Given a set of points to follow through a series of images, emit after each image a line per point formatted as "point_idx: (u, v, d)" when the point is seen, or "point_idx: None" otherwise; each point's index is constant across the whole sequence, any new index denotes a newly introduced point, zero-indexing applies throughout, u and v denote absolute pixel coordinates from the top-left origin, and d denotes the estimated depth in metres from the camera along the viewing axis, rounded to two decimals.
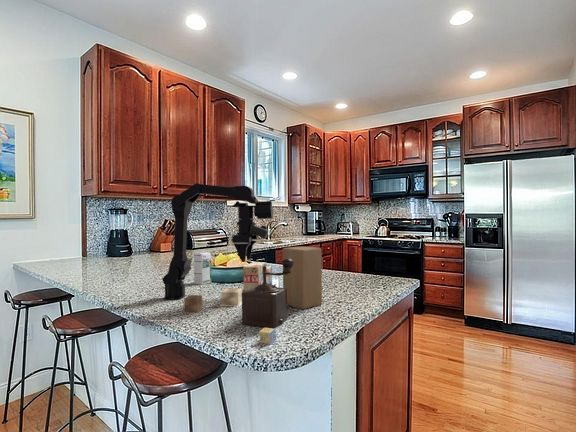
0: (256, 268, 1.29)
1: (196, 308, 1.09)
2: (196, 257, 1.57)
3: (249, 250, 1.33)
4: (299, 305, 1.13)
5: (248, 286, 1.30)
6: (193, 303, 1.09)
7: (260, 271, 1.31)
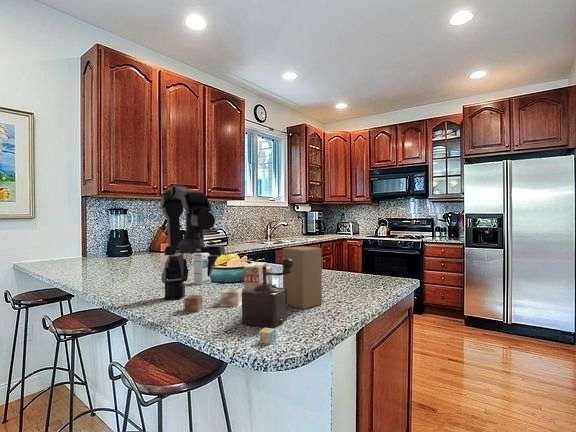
0: (257, 268, 1.29)
1: (196, 308, 1.09)
2: (196, 257, 1.57)
3: None
4: (299, 305, 1.13)
5: (249, 286, 1.30)
6: (193, 303, 1.09)
7: (260, 271, 1.32)
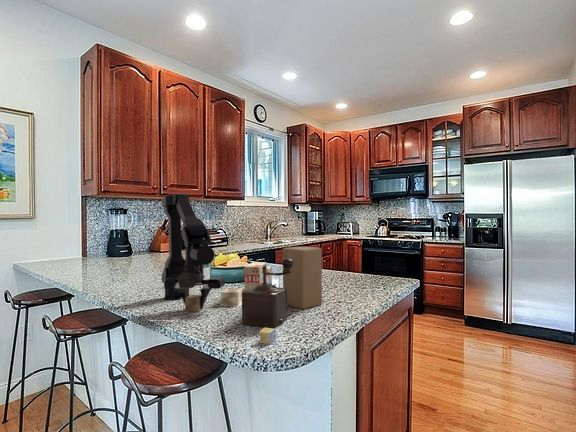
0: (257, 268, 1.29)
1: (197, 308, 1.09)
2: None
3: None
4: (299, 305, 1.13)
5: (249, 285, 1.30)
6: (194, 303, 1.09)
7: (261, 271, 1.32)
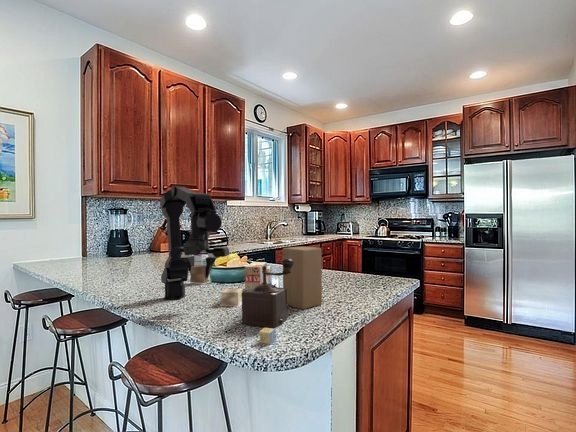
0: (258, 268, 1.29)
1: (202, 277, 1.10)
2: (196, 257, 1.57)
3: None
4: (299, 305, 1.13)
5: (250, 285, 1.30)
6: (199, 272, 1.10)
7: (261, 271, 1.32)
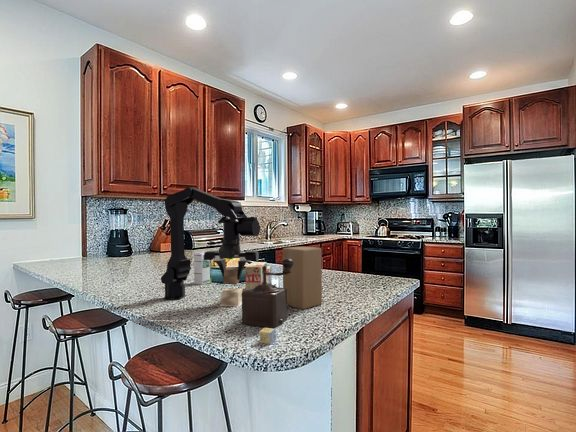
0: (258, 268, 1.29)
1: (234, 279, 1.17)
2: (196, 257, 1.57)
3: None
4: (299, 305, 1.13)
5: (250, 285, 1.30)
6: (232, 274, 1.17)
7: None
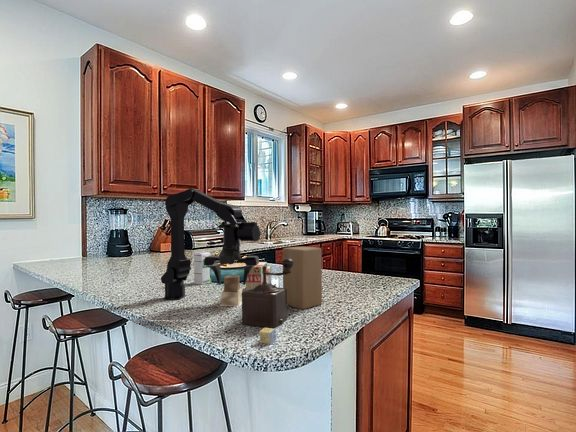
0: (259, 268, 1.30)
1: (235, 287, 1.17)
2: (196, 257, 1.57)
3: None
4: (299, 305, 1.13)
5: (251, 285, 1.30)
6: (232, 282, 1.17)
7: None
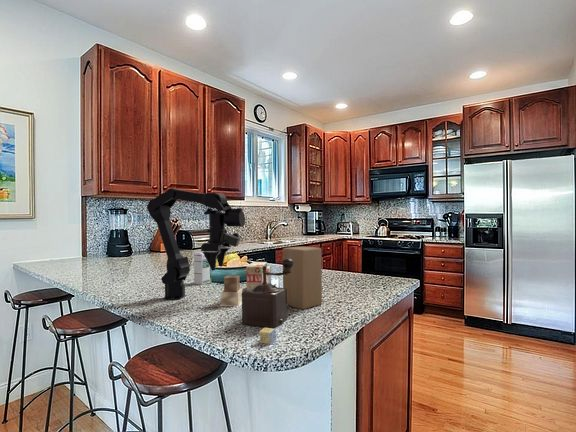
0: (259, 268, 1.30)
1: (235, 287, 1.17)
2: (196, 257, 1.57)
3: (221, 258, 1.30)
4: (299, 305, 1.13)
5: (251, 285, 1.30)
6: (232, 282, 1.17)
7: None
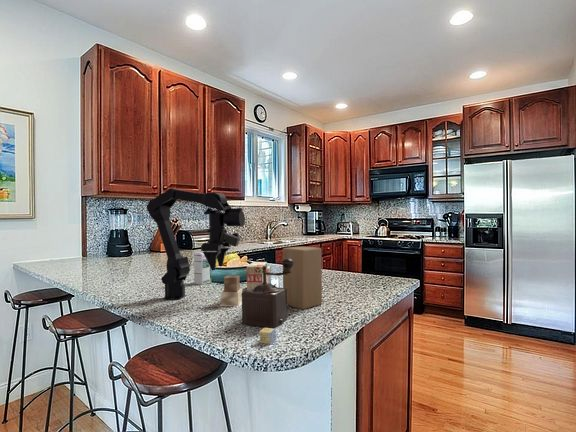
0: (260, 268, 1.30)
1: (235, 287, 1.17)
2: (196, 257, 1.57)
3: (221, 258, 1.31)
4: (299, 305, 1.13)
5: (252, 285, 1.30)
6: (232, 282, 1.17)
7: None
